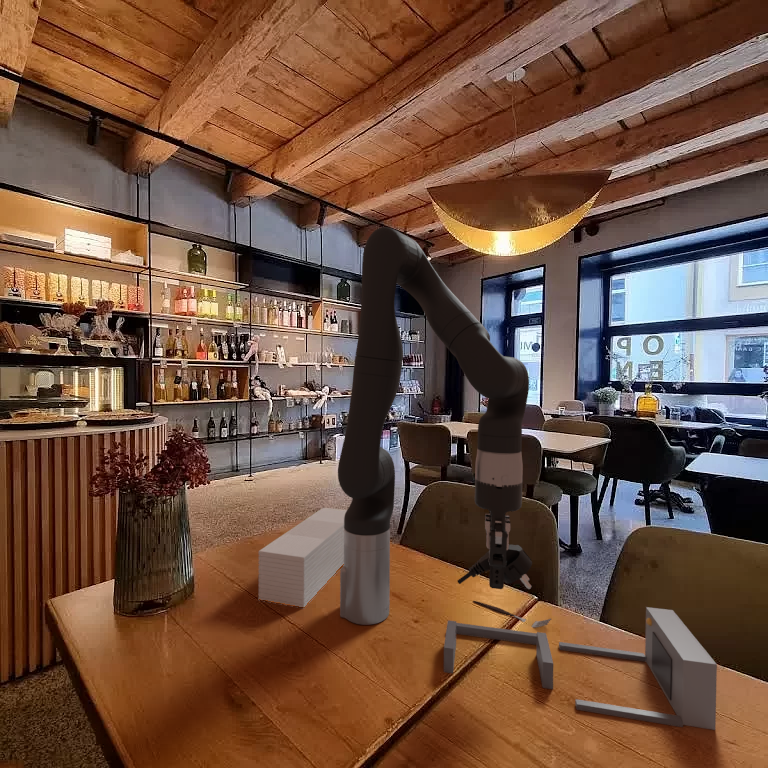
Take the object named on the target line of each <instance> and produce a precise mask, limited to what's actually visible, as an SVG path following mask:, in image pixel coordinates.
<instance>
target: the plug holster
mask: <svg viewBox="0 0 768 768" xmlns="http://www.w3.org/2000/svg"><path fill="white" fill-rule="evenodd" d="M446 623H447V624H446V629H445V631H446V632H445V637H444V644H443V673H448V674H454V669H455V668H454V667H455V659H456V648H457V635H464V636H471V637H478V638H483V639H484V638H485V639H490V640H491V639H492V640H497V641H498V640H499V641H507V642H513V643H519V644H528V645H536V650H535V651H536V654H535V655H536V661H537V666H538V671H539V676H540V681H541V687H542V688H544V689H549V690H554V661H553V657H552V652H551V647H550V643H549V640H548V635H547V633H546V632H538V631H537V632H528V631H522V630H514V629H506V628H498V627H491V626H484V625H476V624H468V623H461V622H457V621H455V620H447V622H446Z"/></svg>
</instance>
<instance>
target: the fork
mask: <svg viewBox="0 0 768 768" xmlns="http://www.w3.org/2000/svg"><path fill="white" fill-rule="evenodd" d="M472 602H473V603H475V605H476V604H477V605H479V606H482V607H483V608H486V609H488V610H491V611H492V612H496V613H499V614H501V615H504V614H506V615H505V616H507V615H510V616H509V617H511V616H514V617H515V619H518V620H520V622H523V623H525V622H526V621H527V619H526V618H523V617H519V616H517V615H515V614H513V613H510V612H509V611H506V610H504V609H503V608H500V607H496V606H494V605H491V604H486V603H484V602H481V601H478V600H472ZM514 617H513V618H514ZM551 620H552V618H549V619H544V620H539V621H538V620H535V621H534V622H533V624H532V625H531V628H533V629H534V628H535V629H536V628H541V627H544V626H545V627H546V626H548V624H550V622H551Z"/></svg>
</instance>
